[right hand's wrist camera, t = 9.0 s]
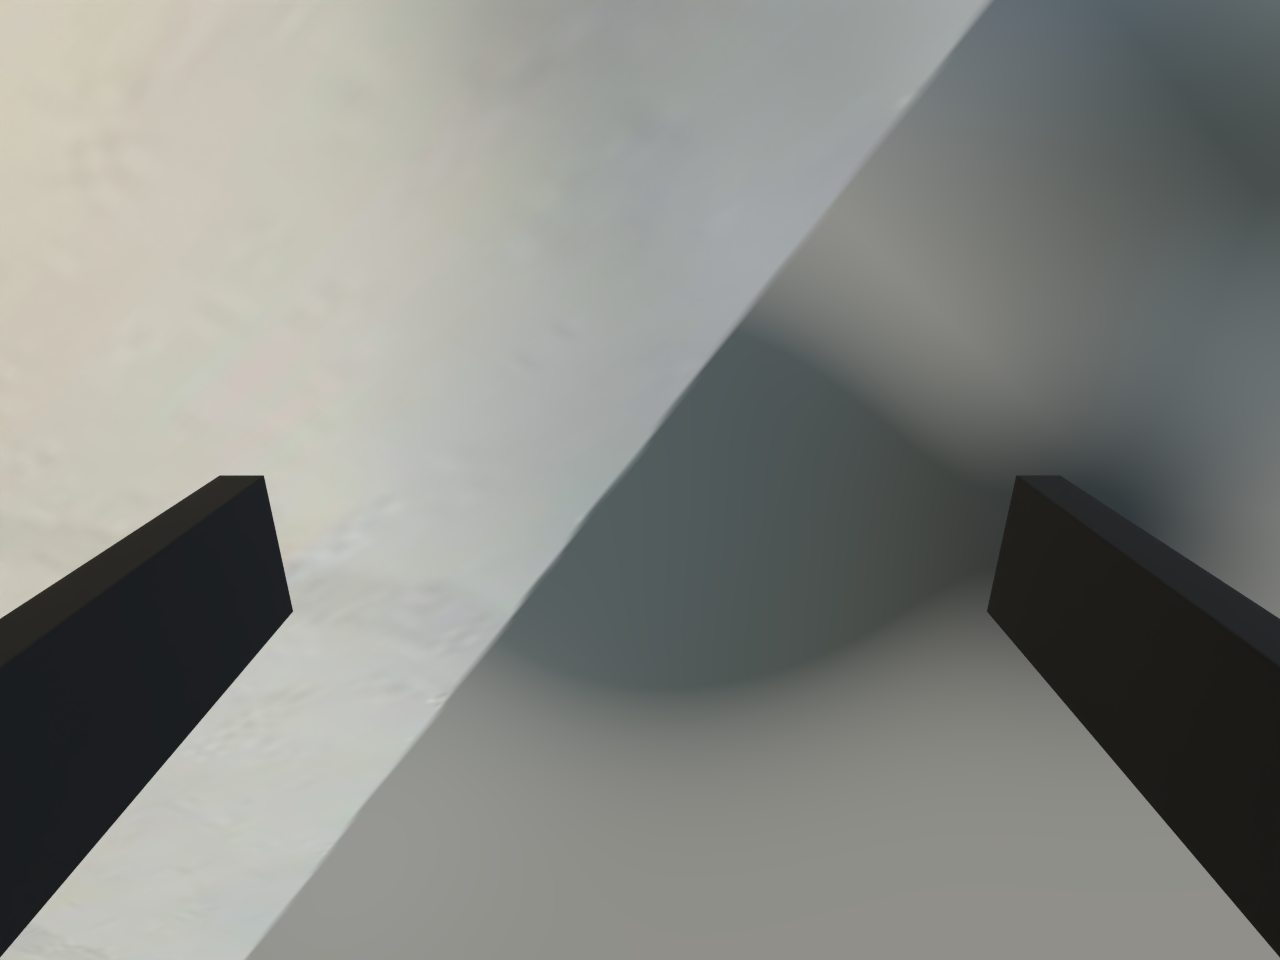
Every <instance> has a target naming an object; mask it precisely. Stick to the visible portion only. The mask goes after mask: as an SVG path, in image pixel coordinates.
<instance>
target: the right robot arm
mask: <svg viewBox="0 0 1280 960" xmlns="http://www.w3.org/2000/svg"><path fill="white" fill-rule="evenodd" d="M292 612H293V609H292V605H291V600H290V595H289V591H288V586H287V581H286V577H285V572H284V567H283V563H282V558H281V554H280V549H279V544H278V540H277V535H276V530H275V526H274V521H273V516H272V512H271V507H270V502H269V498H268V493H267V489H266V484H265V479H264V476H218V477H217V478H215V479H214V480H212V481H211V482H209V483H208V484H206V485H205V486H203V487H202V488H200V489H199V490H197V491H195V492H194V493H192V494H191V495H189V496H188V497H186V498H185V499H183V500H182V501H180V502H179V503H177V504H176V505H174V506H173V507H171V508H169V509H168V510H166V511H165V512H163V513H162V514H160V515H159V516H157V517H156V518H154V519H153V520H151V521H150V522H148V523H146V524H145V525H143V526H142V527H140V528H139V529H137V530H136V531H134V532H133V533H131V534H130V535H128V536H127V537H125V538H123V539H122V540H120V541H119V542H117V543H116V544H114V545H113V546H111V547H110V548H108V549H107V550H105V551H104V552H102V553H101V554H99V555H97V556H96V557H94V558H93V559H91V560H90V561H88V562H87V563H85V564H84V565H82V566H81V567H79V568H78V569H76V570H74V571H73V572H71V573H70V574H68V575H67V576H65V577H64V578H62V579H61V580H59V581H58V582H56V583H55V584H53V585H51V586H50V587H48V588H47V589H45V590H44V591H42V592H41V593H39V594H38V595H36V596H35V597H33V598H32V599H30V600H29V601H27V602H25V603H24V604H22V605H21V606H19V607H18V608H16V609H15V610H13V611H12V612H10V613H9V614H7V615H6V616H4V617H2V618H1V619H0V957H1V956H2V955H3V953H4V952H5V951H6V950H7V949H8V947H9V946H10V945H11V944H12V943H13V942H14V940H15V939H16V938H17V937H18V936H19V934H20V933H21V932H22V931H23V930H24V929H25V927H26V926H27V925H28V924H29V923H30V921H31V920H32V919H33V918H34V917H35V916H36V914H37V913H38V912H39V911H40V910H41V908H42V907H43V906H44V905H45V904H46V903H47V901H48V900H49V899H50V898H51V897H52V895H53V894H54V893H55V892H56V891H57V890H58V888H59V887H60V886H61V885H62V884H63V882H64V881H65V880H66V879H67V878H68V877H69V875H70V874H71V873H72V872H73V871H74V869H75V868H76V867H77V866H78V865H79V864H80V862H81V861H82V860H83V859H84V858H85V856H86V855H87V854H88V853H89V852H90V851H91V849H92V848H93V847H94V846H95V845H96V843H97V842H98V841H99V840H100V839H101V838H102V836H103V835H104V834H105V833H106V832H107V830H108V829H109V828H110V827H111V826H112V825H113V823H114V822H115V821H116V820H117V819H118V817H119V816H120V815H121V814H122V813H123V812H124V810H125V809H126V808H127V807H128V806H129V804H130V803H131V802H132V801H133V800H134V799H135V797H136V796H137V795H138V794H139V793H140V791H141V790H142V789H143V788H144V787H145V786H146V784H147V783H148V782H149V781H150V780H151V778H152V777H153V776H154V775H155V774H156V773H157V771H158V770H159V769H160V768H161V767H162V765H163V764H164V763H165V762H166V761H167V760H168V758H169V757H170V756H171V755H172V754H173V752H174V751H175V750H176V749H177V748H178V747H179V745H180V744H181V743H182V742H183V741H184V739H185V738H186V737H187V736H188V735H189V734H190V732H191V731H192V730H193V729H194V728H195V726H196V725H197V724H198V723H199V722H200V721H201V719H202V718H203V717H204V716H205V715H206V713H207V712H208V711H209V710H210V709H211V708H212V706H213V705H214V704H215V703H216V702H217V700H218V699H219V698H220V697H221V696H222V695H223V693H224V692H225V691H226V690H227V689H228V687H229V686H230V685H231V684H232V683H233V682H234V680H235V679H236V678H237V677H238V676H239V674H240V673H241V672H242V671H243V670H244V669H245V667H246V666H247V665H248V664H249V663H250V661H251V660H252V659H253V658H254V657H255V656H256V654H257V653H258V652H259V651H260V650H261V649H262V647H263V646H264V645H265V644H266V643H267V641H268V640H269V639H270V638H271V637H272V636H273V634H274V633H275V632H276V631H277V630H278V628H279V627H280V626H281V625H282V624H283V623H284V621H285V620H286V619H287V618H288V617H289V615H290V614H291V613H292ZM987 612H988V613H989V614H990V615H991V617H992V618H993V619H994V620H995V621H996V622H997V624H998V625H999V626H1000V627H1001V628H1002V630H1003V631H1004V632H1005V633H1006V634H1007V635H1008V637H1009V638H1010V639H1011V640H1012V641H1013V643H1014V644H1015V645H1016V646H1017V647H1018V649H1019V650H1020V651H1021V652H1022V653H1023V654H1024V656H1025V657H1026V658H1027V659H1028V660H1029V661H1030V663H1031V664H1032V665H1033V666H1034V667H1035V669H1036V670H1037V671H1038V672H1039V673H1040V674H1041V676H1042V677H1043V678H1044V679H1045V680H1046V682H1047V683H1048V684H1049V685H1050V686H1051V687H1052V689H1053V690H1054V691H1055V692H1056V693H1057V695H1058V696H1059V697H1060V698H1061V699H1062V700H1063V702H1064V703H1065V704H1066V705H1067V706H1068V708H1069V709H1070V710H1071V711H1072V712H1073V713H1074V715H1075V716H1076V717H1077V718H1078V719H1079V721H1080V722H1081V723H1082V724H1083V725H1084V726H1085V728H1086V729H1087V730H1088V731H1089V732H1090V734H1091V735H1092V736H1093V737H1094V738H1095V739H1096V741H1097V742H1098V743H1099V744H1100V745H1101V747H1102V748H1103V749H1104V750H1105V751H1106V752H1107V754H1108V755H1109V756H1110V757H1111V758H1112V760H1113V761H1114V762H1115V763H1116V764H1117V765H1118V767H1119V768H1120V769H1121V770H1122V771H1123V773H1124V774H1125V775H1126V776H1127V777H1128V778H1129V780H1130V781H1131V782H1132V783H1133V784H1134V786H1135V787H1136V788H1137V789H1138V790H1139V791H1140V793H1141V794H1142V795H1143V796H1144V797H1145V799H1146V800H1147V801H1148V802H1149V803H1150V804H1151V806H1152V807H1153V808H1154V809H1155V810H1156V811H1157V813H1158V814H1159V815H1160V816H1161V817H1162V819H1163V820H1164V821H1165V822H1166V823H1167V825H1168V826H1169V827H1170V828H1171V829H1172V830H1173V832H1174V833H1175V834H1176V835H1177V836H1178V838H1179V839H1180V840H1181V841H1182V842H1183V843H1184V845H1185V846H1186V847H1187V848H1188V849H1189V851H1190V852H1191V853H1192V854H1193V855H1194V856H1195V858H1196V859H1197V860H1198V861H1199V862H1200V864H1201V865H1202V866H1203V867H1204V868H1205V869H1206V871H1207V872H1208V873H1209V874H1210V875H1211V877H1212V878H1213V879H1214V880H1215V881H1216V882H1217V884H1218V885H1219V886H1220V887H1221V888H1222V890H1223V891H1224V892H1225V893H1226V894H1227V895H1228V897H1229V898H1230V899H1231V900H1232V901H1233V902H1234V904H1235V905H1236V906H1237V907H1238V908H1239V910H1240V911H1241V912H1242V913H1243V914H1244V915H1245V917H1246V918H1247V919H1248V920H1249V921H1250V923H1251V924H1252V925H1253V926H1254V927H1255V928H1256V930H1257V931H1258V932H1259V933H1260V934H1261V936H1262V937H1263V938H1264V939H1265V940H1266V941H1267V943H1268V944H1269V945H1270V946H1271V947H1272V949H1273V950H1274V951H1275V952H1276V953H1277V955H1278V956H1279V957H1280V619H1279V618H1278V617H1276V616H1274V615H1273V614H1271V613H1270V612H1268V611H1267V610H1265V609H1264V608H1262V607H1261V606H1259V605H1258V604H1256V603H1255V602H1253V601H1251V600H1250V599H1248V598H1247V597H1245V596H1244V595H1242V594H1241V593H1239V592H1238V591H1236V590H1235V589H1233V588H1232V587H1230V586H1229V585H1227V584H1225V583H1224V582H1222V581H1221V580H1219V579H1218V578H1216V577H1215V576H1213V575H1212V574H1210V573H1209V572H1207V571H1205V570H1204V569H1202V568H1201V567H1199V566H1198V565H1196V564H1195V563H1193V562H1192V561H1190V560H1189V559H1187V558H1186V557H1184V556H1183V555H1181V554H1179V553H1178V552H1176V551H1175V550H1173V549H1172V548H1170V547H1169V546H1167V545H1166V544H1164V543H1163V542H1161V541H1160V540H1158V539H1157V538H1155V537H1153V536H1152V535H1150V534H1149V533H1147V532H1146V531H1144V530H1143V529H1141V528H1140V527H1138V526H1137V525H1135V524H1133V523H1132V522H1130V521H1129V520H1127V519H1126V518H1124V517H1123V516H1121V515H1120V514H1118V513H1117V512H1115V511H1114V510H1112V509H1111V508H1109V507H1107V506H1106V505H1104V504H1103V503H1101V502H1100V501H1098V500H1097V499H1095V498H1094V497H1092V496H1091V495H1089V494H1088V493H1086V492H1085V491H1083V490H1081V489H1080V488H1078V487H1077V486H1075V485H1074V484H1072V483H1071V482H1069V481H1068V480H1066V479H1065V478H1063V477H1062V476H1016V480H1015V484H1014V489H1013V493H1012V498H1011V502H1010V507H1009V512H1008V516H1007V521H1006V526H1005V530H1004V535H1003V540H1002V544H1001V549H1000V554H999V558H998V563H997V567H996V572H995V577H994V581H993V586H992V591H991V595H990V600H989V605H988V609H987Z"/></svg>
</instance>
